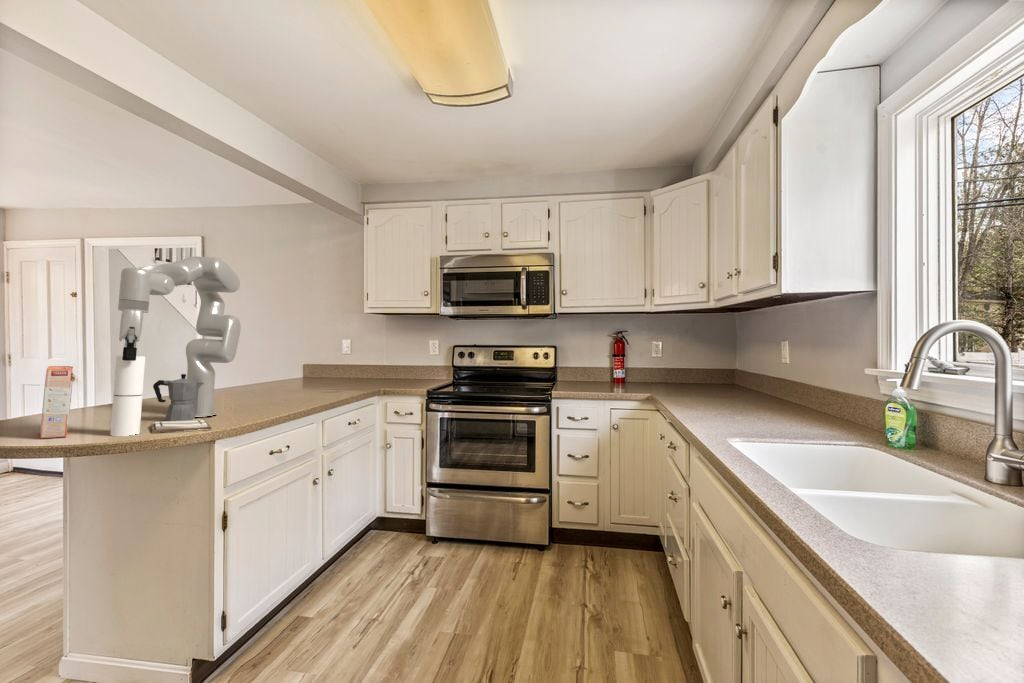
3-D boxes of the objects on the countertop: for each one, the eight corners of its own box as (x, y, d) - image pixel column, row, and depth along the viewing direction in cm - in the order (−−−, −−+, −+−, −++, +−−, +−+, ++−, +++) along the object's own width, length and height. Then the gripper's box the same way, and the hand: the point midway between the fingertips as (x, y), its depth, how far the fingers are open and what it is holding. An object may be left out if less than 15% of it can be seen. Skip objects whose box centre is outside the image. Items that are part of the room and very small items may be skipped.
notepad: (150, 426, 157) (150, 421, 157) (205, 423, 167) (205, 418, 167) (152, 433, 146) (152, 427, 146) (210, 430, 157) (211, 424, 157)
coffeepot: (200, 418, 177) (203, 373, 178) (202, 422, 170) (205, 375, 170) (150, 420, 167) (153, 372, 168) (150, 424, 160) (154, 374, 161)
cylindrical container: (108, 437, 138) (114, 356, 139) (111, 432, 144) (117, 355, 144) (138, 435, 142) (144, 357, 143) (140, 431, 148) (146, 356, 149)
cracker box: (68, 437, 134) (73, 368, 135) (39, 439, 130) (44, 367, 131) (68, 430, 145) (73, 365, 145) (41, 431, 140) (47, 365, 141)
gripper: (118, 307, 148) (113, 358, 147) (117, 303, 135) (112, 360, 134) (147, 309, 153) (143, 359, 152) (149, 306, 140) (145, 361, 139)
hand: (128, 359), depth 143 cm, fingers open, 9 cm apart
